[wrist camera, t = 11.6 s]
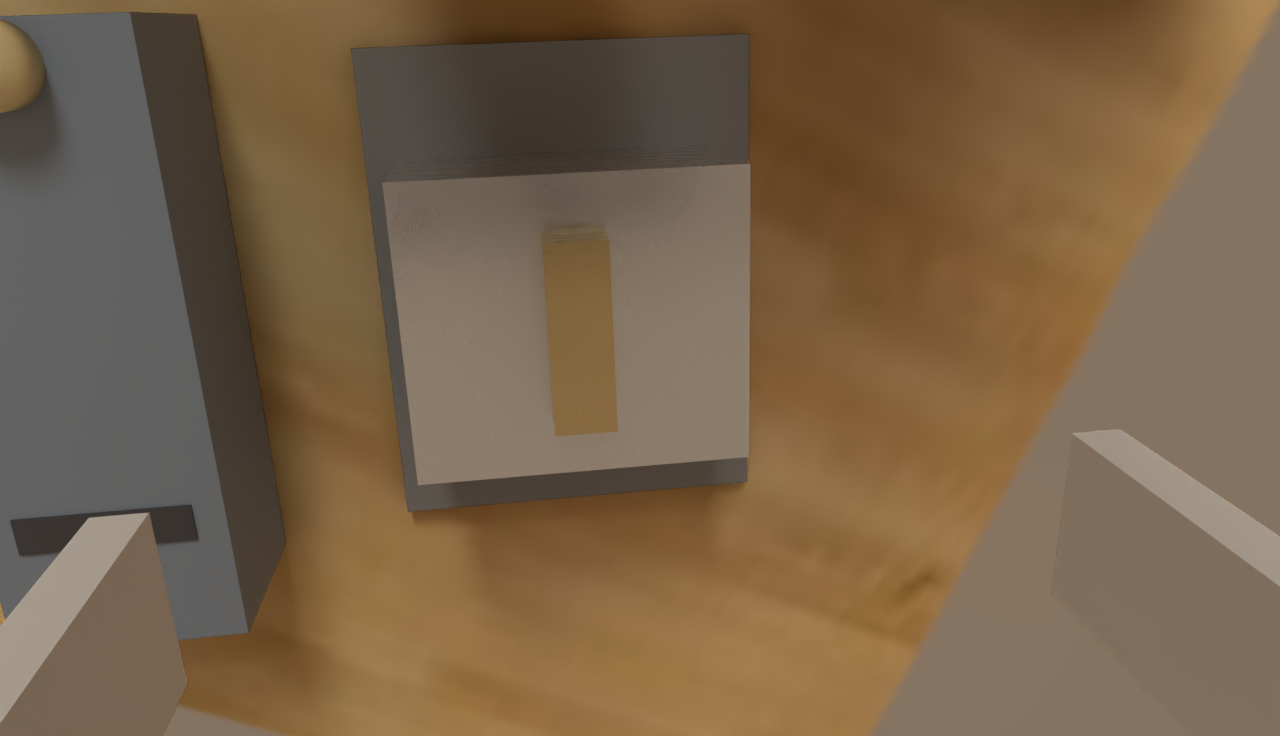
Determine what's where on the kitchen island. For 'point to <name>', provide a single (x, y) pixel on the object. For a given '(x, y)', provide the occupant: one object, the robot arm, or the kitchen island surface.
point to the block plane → (126, 316)
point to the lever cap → (572, 309)
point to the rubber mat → (543, 122)
